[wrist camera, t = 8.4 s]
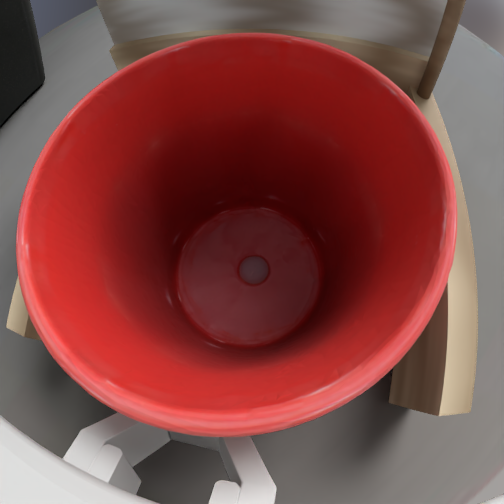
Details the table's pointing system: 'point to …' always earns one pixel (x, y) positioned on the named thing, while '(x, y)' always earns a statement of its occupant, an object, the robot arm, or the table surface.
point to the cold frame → (400, 73)
